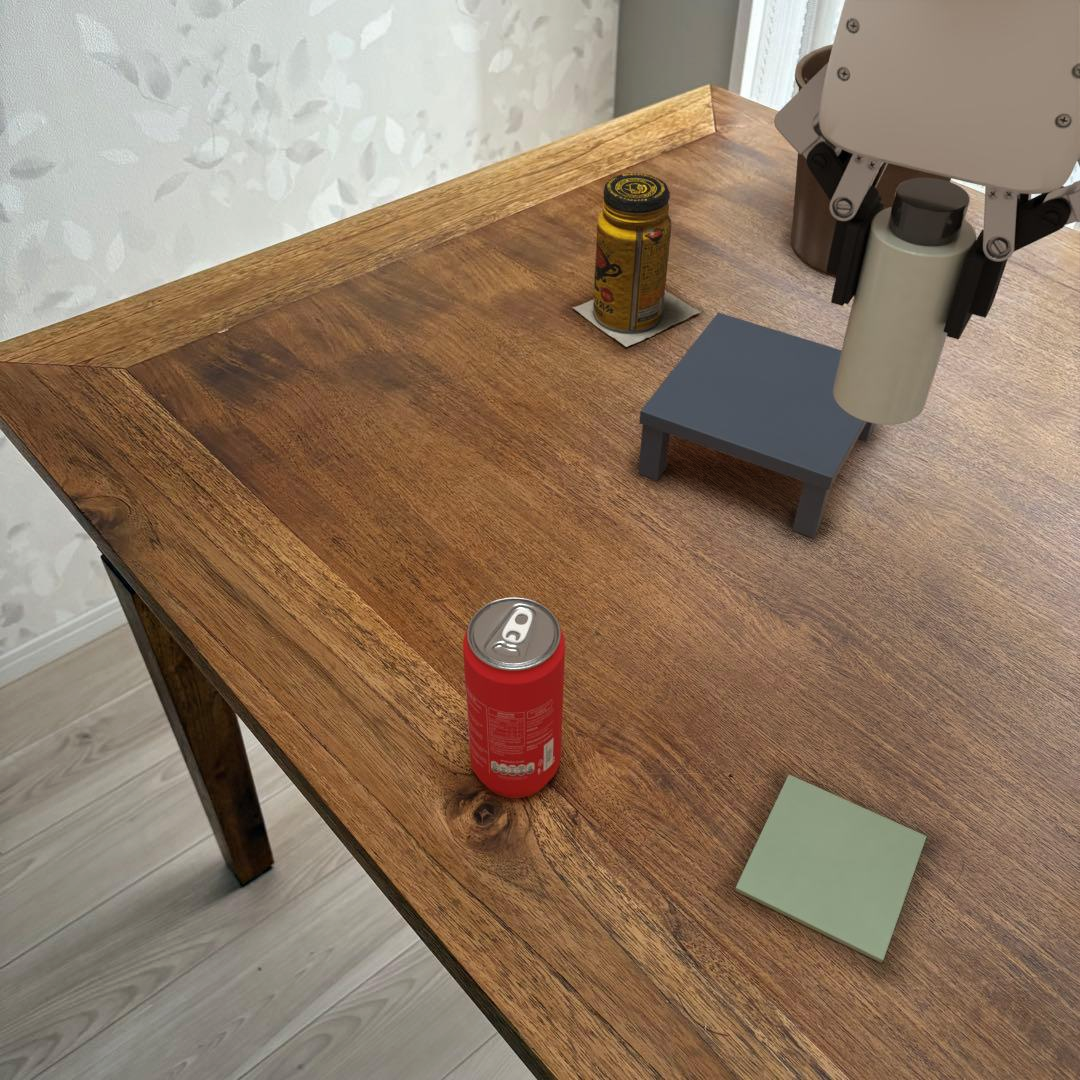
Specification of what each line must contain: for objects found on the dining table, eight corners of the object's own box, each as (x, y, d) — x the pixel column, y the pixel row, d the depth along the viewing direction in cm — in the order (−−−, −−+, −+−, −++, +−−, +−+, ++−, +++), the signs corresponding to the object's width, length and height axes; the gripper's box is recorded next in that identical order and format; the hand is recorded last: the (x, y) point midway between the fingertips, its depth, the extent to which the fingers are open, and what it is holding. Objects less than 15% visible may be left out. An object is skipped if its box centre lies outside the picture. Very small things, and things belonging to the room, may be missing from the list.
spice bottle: (936, 386, 54) (999, 184, 47) (909, 436, 52) (972, 230, 44) (849, 360, 56) (897, 160, 48) (819, 407, 53) (864, 203, 46)
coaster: (925, 839, 61) (927, 835, 61) (881, 963, 56) (883, 960, 56) (787, 777, 64) (788, 773, 63) (734, 890, 59) (735, 887, 59)
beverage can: (456, 788, 63) (445, 655, 55) (490, 717, 66) (485, 582, 58) (542, 816, 62) (544, 685, 53) (572, 743, 65) (579, 609, 57)
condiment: (572, 309, 97) (576, 181, 88) (645, 278, 100) (656, 152, 92) (626, 349, 93) (636, 219, 84) (700, 315, 96) (717, 187, 88)
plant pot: (732, 227, 107) (757, 58, 95) (864, 189, 112) (902, 25, 101) (840, 313, 97) (882, 135, 85) (979, 267, 102) (1036, 94, 91)
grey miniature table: (876, 429, 86) (894, 366, 81) (815, 541, 77) (832, 477, 73) (708, 374, 90) (718, 311, 86) (633, 474, 82) (640, 410, 78)
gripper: (1316, -152, 37) (1114, 319, 49) (826, -210, 43) (759, 223, 55) (1296, -92, 32) (1079, 409, 45) (750, -167, 38) (697, 294, 51)
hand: (904, 302), depth 50 cm, fingers closed on spice bottle, 4 cm apart
